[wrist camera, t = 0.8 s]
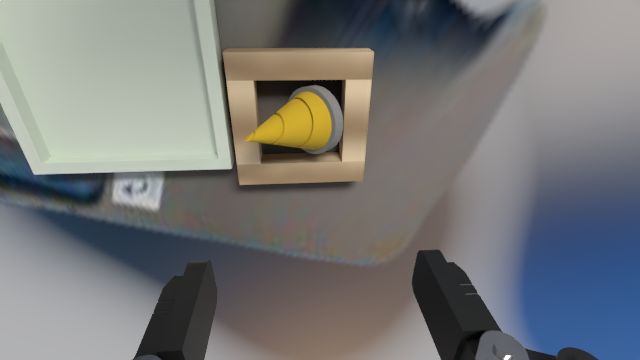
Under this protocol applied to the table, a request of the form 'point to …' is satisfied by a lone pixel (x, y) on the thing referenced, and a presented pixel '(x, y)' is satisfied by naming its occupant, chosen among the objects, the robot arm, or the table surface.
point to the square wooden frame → (299, 65)
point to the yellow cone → (304, 122)
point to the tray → (115, 85)
